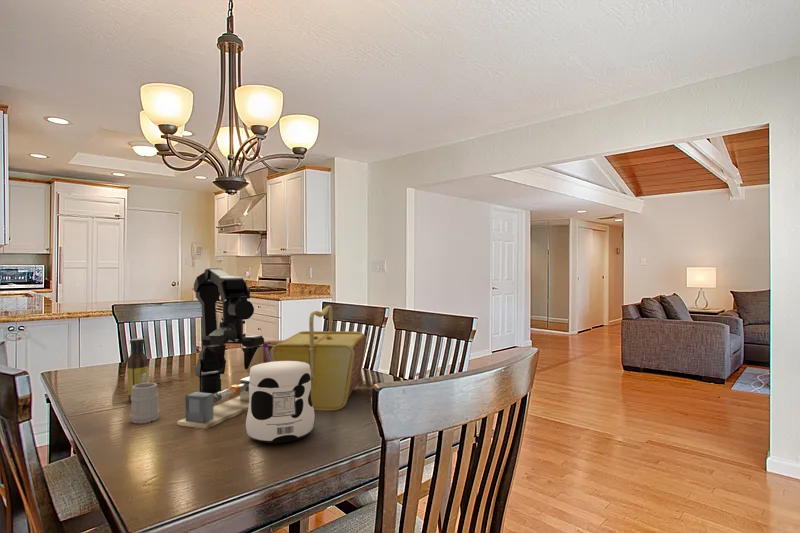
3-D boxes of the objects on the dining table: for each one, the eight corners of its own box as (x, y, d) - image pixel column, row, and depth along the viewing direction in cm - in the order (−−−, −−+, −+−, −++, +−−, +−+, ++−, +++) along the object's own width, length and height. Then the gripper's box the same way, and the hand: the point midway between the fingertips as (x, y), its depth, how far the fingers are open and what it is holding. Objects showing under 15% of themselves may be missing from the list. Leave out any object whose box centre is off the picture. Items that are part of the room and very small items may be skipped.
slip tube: (256, 385, 160) (256, 375, 160) (264, 386, 159) (264, 375, 159) (209, 403, 140) (209, 391, 140) (219, 404, 138) (219, 392, 138)
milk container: (280, 421, 135) (279, 357, 135) (328, 431, 127) (327, 364, 126) (230, 440, 120) (230, 369, 120) (281, 454, 112) (280, 377, 112)
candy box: (289, 379, 184) (289, 339, 184) (286, 382, 180) (286, 341, 180) (266, 379, 185) (266, 339, 184) (263, 382, 180) (262, 341, 180)
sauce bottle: (152, 396, 161) (152, 337, 161) (143, 401, 155) (143, 340, 155) (133, 396, 161) (133, 337, 161) (123, 401, 155) (123, 340, 155)
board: (251, 394, 163) (251, 391, 163) (276, 396, 160) (276, 393, 160) (177, 424, 132) (177, 421, 132) (206, 429, 129) (206, 425, 129)
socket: (196, 416, 136) (196, 391, 136) (213, 418, 134) (213, 393, 134) (185, 421, 133) (185, 395, 132) (203, 423, 131) (202, 397, 130)
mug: (129, 425, 132) (129, 382, 132) (129, 414, 142) (129, 373, 142) (160, 421, 136) (160, 379, 135) (158, 410, 146) (158, 370, 146)
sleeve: (257, 392, 161) (257, 373, 161) (267, 393, 160) (267, 374, 160) (240, 399, 153) (239, 379, 153) (250, 401, 152) (250, 380, 152)
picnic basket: (353, 413, 142) (353, 313, 142) (268, 412, 144) (268, 312, 143) (367, 388, 171) (366, 304, 171) (296, 387, 173) (295, 304, 173)
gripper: (189, 320, 142) (189, 372, 142) (241, 320, 136) (242, 375, 136) (214, 316, 153) (215, 365, 153) (264, 317, 147) (265, 368, 147)
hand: (233, 368), depth 147 cm, fingers open, 9 cm apart
